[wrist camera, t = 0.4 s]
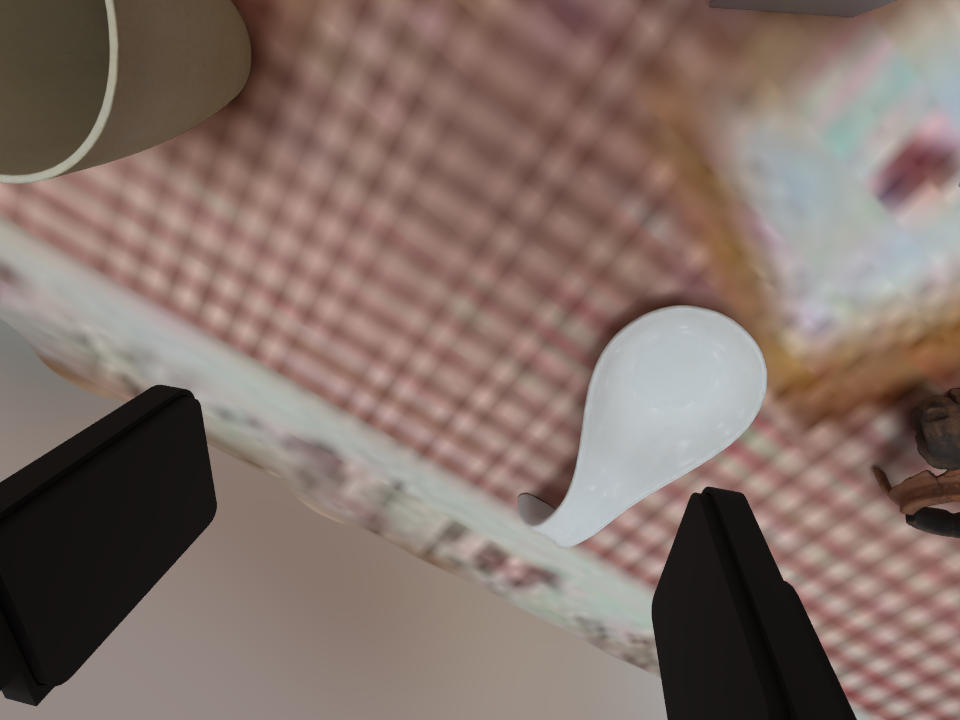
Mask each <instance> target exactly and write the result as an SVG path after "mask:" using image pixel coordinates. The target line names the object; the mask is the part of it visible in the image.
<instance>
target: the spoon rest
mask: <svg viewBox="0 0 960 720" xmlns="http://www.w3.org/2000/svg"><path fill="white" fill-rule="evenodd" d="M766 389H767V369H766V364H765V360H764V357H763V354H762V352H761V349H760V348H759V346H758V344H757V343H756V342H755V340H754V339H753V338H752V337H751V335H750V334H749V333H748V332H747V331H746V330H745V329H744V328H743V327H742V326H740V325H739V324H738V323H736V322H735V321H734V320H732V319H731V318H729V317H727V316H725V315H724V314H721V313H719V312H716V311H714V310H711V309H707V308H702V307H697V306H690V305H676V306H668V307H663V308H660V309H657V310H654V311H651V312H648V313H646V314H644V315H642V316H640V317H638V318H636V319H635V320H633V321H632V322H630V323H629V324H627V325H626V326H625V327H624V328H622V329H621V330H620V331H619V332H618V333H617V334H616V335H615V336H614V337H613V338H612V339H611V340H610V341H609V343H608V344H607V345H606V347H605V348H604V350H603V351H602V353H601V355H600V357H599V359H598V361H597V363H596V366H595V368H594V370H593V373H592V376H591V380H590V383H589V387H588V391H587V396H586V402H585V408H584V415H583V423H582V431H581V438H580V444H579V451H578V457H577V462H576V467H575V471H574V475H573V478H572V481H571V484H570V487H569V490H568V492H567V494H566V496H565V498H564V500H563V501H562V503H561V504H560V505H559V507H558V508H557V509H556V510H555V509H554V508H552V507H551V506H549V505H548V504H546V503H544V502H542V501H540V500H539V499H537V498H536V497H534V496H531V495H528V494H523V495H520V496H519V498H518V511H519V515H520V518H521V520H522V521H523V523H524V524H525V525H526V526H527V527H528V528H529V529H531V530H533V531H535V532H537V533H540V534H541V535H543V536H545V537H546V538H548V539H549V540H551V541H552V542H553V543H554V544H556V545H557V546H558V547H561V548H567V547H571V546H574V545H576V544H578V543H580V542H582V541H584V540H586V539H588V538H589V537H591V536H592V535H594V534H596V533H597V532H598V531H600V530H601V529H602V528H604V527H605V526H606V525H608V524H609V523H610V522H611V521H613V520H614V519H615V518H616V517H618V516H619V515H620V514H621V513H623V512H624V511H626V510H627V509H628V508H630V507H631V506H633V505H634V504H636V503H637V502H639V501H640V500H642V499H644V498H645V497H647V496H648V495H650V494H652V493H653V492H655V491H657V490H659V489H660V488H662V487H664V486H665V485H667V484H669V483H671V482H672V481H674V480H676V479H678V478H679V477H681V476H683V475H685V474H686V473H688V472H690V471H691V470H693V469H695V468H696V467H698V466H700V465H701V464H703V463H704V462H706V461H708V460H709V459H711V458H712V457H713V456H715V455H716V454H718V453H719V452H721V451H722V450H724V449H725V448H727V447H728V446H729V445H730V444H732V443H733V442H734V441H735V440H736V439H737V438H738V437H739V436H740V435H741V434H742V433H743V432H744V431H745V430H746V429H747V428H748V427H749V426H750V424H751V423H752V422H753V420H754V418H755V417H756V415H757V413H758V412H759V410H760V408H761V405H762V403H763V400H764V397H765V394H766Z"/></svg>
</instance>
